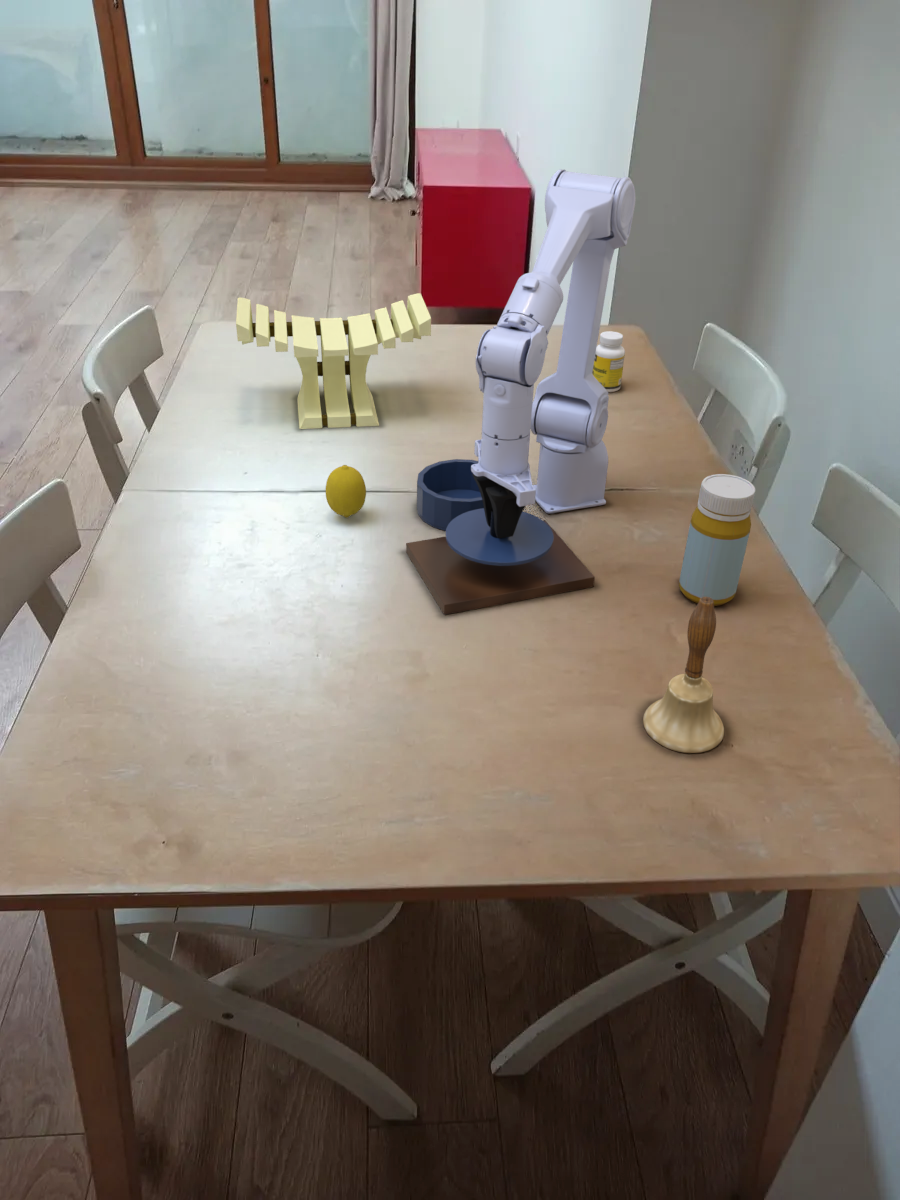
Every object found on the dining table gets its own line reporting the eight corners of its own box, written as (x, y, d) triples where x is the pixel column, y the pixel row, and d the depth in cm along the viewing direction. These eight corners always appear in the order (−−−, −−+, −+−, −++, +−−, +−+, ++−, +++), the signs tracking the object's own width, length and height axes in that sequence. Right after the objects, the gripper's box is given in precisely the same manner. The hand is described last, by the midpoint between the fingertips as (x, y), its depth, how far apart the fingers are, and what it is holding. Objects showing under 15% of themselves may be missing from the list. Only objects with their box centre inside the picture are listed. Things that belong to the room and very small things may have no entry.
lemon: (360, 529, 133) (358, 476, 128) (321, 524, 134) (318, 472, 129) (371, 510, 137) (370, 458, 133) (333, 505, 138) (331, 454, 134)
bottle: (737, 583, 124) (761, 478, 115) (731, 613, 118) (756, 504, 110) (682, 572, 126) (701, 468, 117) (674, 601, 120) (694, 494, 112)
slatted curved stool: (417, 387, 175) (418, 287, 165) (429, 423, 162) (431, 318, 152) (248, 393, 171) (238, 291, 161) (246, 431, 158) (235, 323, 148)
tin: (486, 484, 145) (488, 454, 142) (520, 524, 135) (522, 493, 132) (405, 496, 141) (405, 465, 138) (434, 538, 131) (434, 507, 128)
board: (544, 529, 134) (545, 520, 133) (593, 586, 122) (594, 576, 122) (406, 552, 128) (406, 542, 127) (444, 615, 117) (444, 604, 116)
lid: (526, 508, 130) (529, 478, 127) (571, 559, 120) (574, 528, 117) (430, 523, 126) (431, 492, 124) (467, 578, 116) (469, 545, 113)
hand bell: (672, 762, 97) (699, 633, 88) (627, 711, 103) (648, 586, 94) (740, 741, 99) (773, 613, 90) (692, 692, 106) (719, 569, 97)
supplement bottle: (584, 384, 178) (590, 331, 172) (610, 380, 180) (616, 328, 174) (600, 394, 174) (607, 341, 168) (626, 390, 176) (633, 337, 170)
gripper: (453, 410, 119) (450, 507, 126) (497, 460, 107) (492, 564, 115) (506, 403, 121) (500, 500, 128) (555, 452, 110) (546, 555, 117)
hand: (500, 530), depth 122 cm, fingers closed on lid, 2 cm apart
